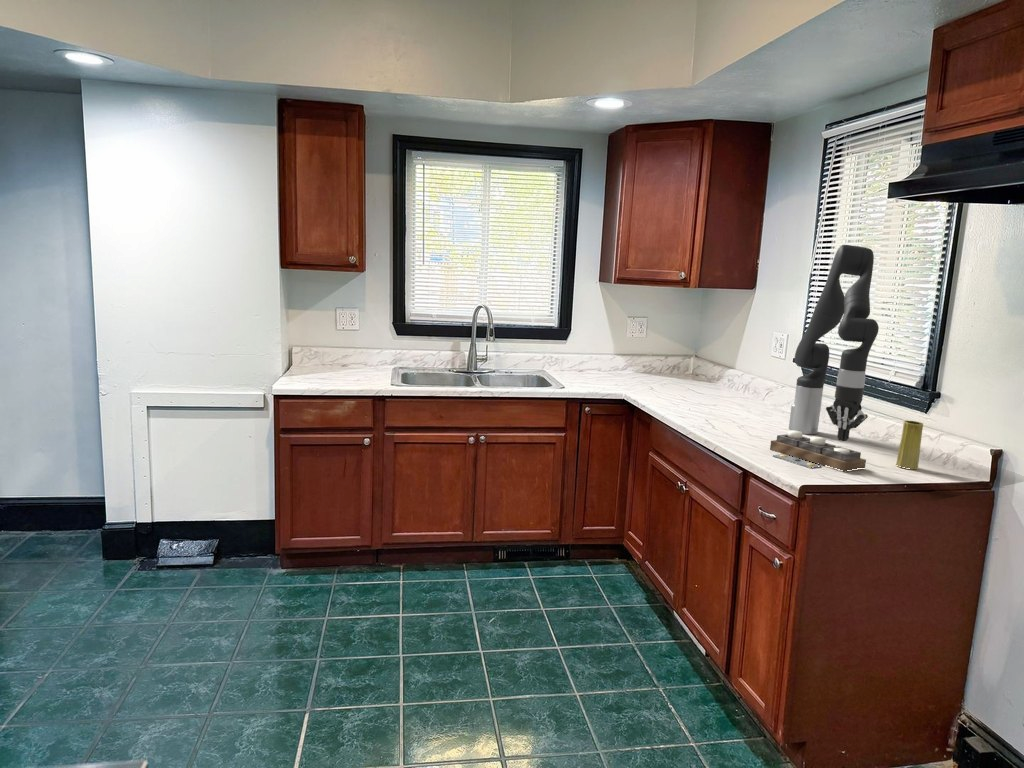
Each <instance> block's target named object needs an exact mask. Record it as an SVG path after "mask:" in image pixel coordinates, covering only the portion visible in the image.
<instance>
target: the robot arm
mask: <svg viewBox="0 0 1024 768" xmlns="http://www.w3.org/2000/svg"><path fill="white" fill-rule="evenodd" d="M874 255H875V254H874V251H873V250H872V248H870V247H869V248H868V247H865V246H858V245H851V244H842V245H840V246H839V248H837V250H836V252H835V255H834V258H833V260H832V263H831V266H830V270H829V273H828V276H827V278H826V282H825V284H824V287H823V290H822V291H821V294H820V296H819V298H818V301H817V302H816V305H815V308H814V310H813V313H812V316H811V319H810V321H809V323H808V325H807V328H806V329H805V332H804V334H803V335H802V337H801V339H800V342H799V343H798V346H797V347H796V351H795V354H794V363H795V365H796V366H797V367H800V368H807V369H813V370H812V371H811V372H809V373H808V374H805V375H802V376H799V377H797V379H796V387H795V392H794V393H795V394H794V402H793V404H791V406H790V413H789V421H788V422H789V423H788V430H795V431H800V432H802V433H803V434H804V435H817V434H818V431H819V423H820V416H821V409H822V408H821V406H822V401H823V391H824V385H825V381H826V376H827V370H828V365H829V360H830V347H829V346H828V344H826V343H819V342H818V341H819V339H821V338H822V337H824V336H825V335H827V334H828V333H829V332H831V331H832V330H833V329H835V328H837V326H838V329H837V333H838V337H839V338H840V339H841V340H843V341H844V342H855V343H861V344H860V346H859V347H856V348H848V349H844V350H843V351H842V352H841V356H840V363H839V369H838V373H837V378H836V384H835V385H836V386H835V392H834V398H835V399H834V401H833V404H832V405H830V406H826V407H825V410H826V412H827V414H828V416H829V419H830V421H831V423H832V425H835V426H837V428H838V429H837V435H836V436H837V439H838V441H841V442H847V441H848V440H849V437H850V431H851V429H857V428H858V427H859V426H860V425H861V424H862V423H863V422H864V421H865V420H867V419H868V417H869V415H868V414H866V413H864V412H863V411H862V408H863V407H862V401H863V397H864V390H865V382H866V371H867V364H868V363H867V362H868V358H869V357H868V356H869V354H870V351H871V349H872V346H873V344H874V342H875V340H876V338H877V336H878V334H879V330H880V329H879V324H878V322H877V321H876V320H875V319H873V318H869V317H870V315H871V299H870V289H871V283H872V278H873V270H874V262H875V261H874V259H875V257H874ZM841 275H848V276H849V275H850V276H856V277H859V278H858V279H857V280H856V281H855V282H854V283H853V284H852V285H851V286H850V287H848V289H847V290H846V292H845V294H844V292H843V289H842V285H841V281H840V277H841ZM855 417H856V418H855ZM803 434H802V435H803Z"/></svg>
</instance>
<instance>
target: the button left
mask: <svg viewBox="0 0 1024 768" xmlns="http://www.w3.org/2000/svg"><path fill="white" fill-rule="evenodd" d="M787 434H788V436H787V437H788V438H792V439H797V440H799V439H802V436H803V433H802V432H800V431H795V430H790V429H788V430H787Z"/></svg>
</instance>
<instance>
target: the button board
mask: <svg viewBox="0 0 1024 768" xmlns="http://www.w3.org/2000/svg"><path fill="white" fill-rule="evenodd" d="M787 436H788V433H786V434H779V435H778V434H777V436H776V439H775V440H771V441H770V445H769V450H771V451H773V452H777V453H779V452H780V454H786V455H790V456H793V457H795V458H796V457H797V458H800V459H803V460H808V462H809V461H811V462H815V463H819V464H822V465H827V466H830V467H833V468H837V469H840V470H843V471H847V470H852V469H857V468H865V469H866V462H867V459H866V458H862V457H861V456H862V454H861V451H857V450H853V449H849V448H846V447H843V446H839V445H838V446H836V445H835V444H831V443H828V442H825V446H816V445H813V444H810V438H811V437H805V436H803V435H802V439H799V440H797V439H792V438H788V437H787ZM834 448H843V449H847V450H850V453H841V452H838V451H834ZM822 465H821V466H822Z"/></svg>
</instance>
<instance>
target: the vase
mask: <svg viewBox="0 0 1024 768" xmlns="http://www.w3.org/2000/svg"><path fill="white" fill-rule="evenodd" d="M923 429H924V423H923V422H921V421H916V420H915V421H914V420H904V421H903V426H902V432H901V439H900V443H899V447H898V452H897V459H896V463H895V466H896V465H898V466H901V467H905V468H910V469H917V468H918V469H919V460H920V452H921V446H922V445H921V444H922V437H923V436H922V435H923ZM918 469H917V470H918Z"/></svg>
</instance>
